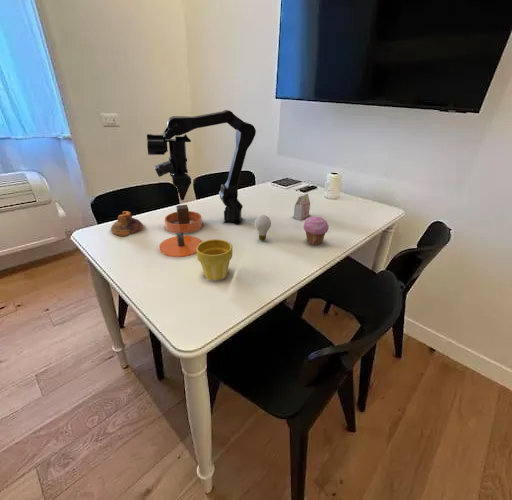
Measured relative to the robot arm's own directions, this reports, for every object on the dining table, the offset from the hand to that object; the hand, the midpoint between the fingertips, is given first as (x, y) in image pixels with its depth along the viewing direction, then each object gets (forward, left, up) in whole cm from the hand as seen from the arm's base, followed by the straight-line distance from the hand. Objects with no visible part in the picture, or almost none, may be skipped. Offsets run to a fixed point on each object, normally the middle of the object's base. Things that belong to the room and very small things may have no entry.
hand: (180, 196), depth 116 cm
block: (0, 0, -12) cm, 12 cm away
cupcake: (-52, +2, -13) cm, 54 cm away
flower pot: (-23, +31, -13) cm, 41 cm away
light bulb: (-33, +5, -13) cm, 36 cm away
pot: (0, 0, -13) cm, 13 cm away
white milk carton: (-46, -22, -13) cm, 53 cm away
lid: (-6, +17, -12) cm, 22 cm away
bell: (+20, +8, -13) cm, 25 cm away
